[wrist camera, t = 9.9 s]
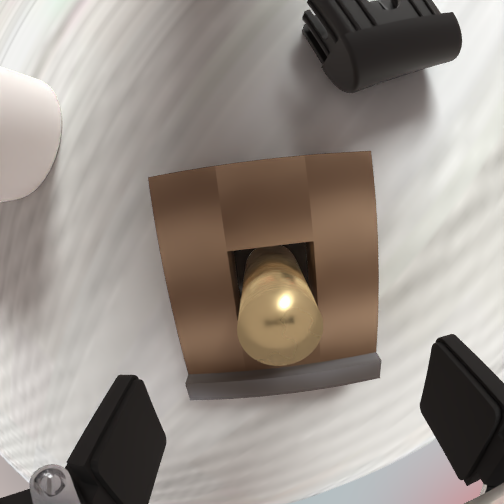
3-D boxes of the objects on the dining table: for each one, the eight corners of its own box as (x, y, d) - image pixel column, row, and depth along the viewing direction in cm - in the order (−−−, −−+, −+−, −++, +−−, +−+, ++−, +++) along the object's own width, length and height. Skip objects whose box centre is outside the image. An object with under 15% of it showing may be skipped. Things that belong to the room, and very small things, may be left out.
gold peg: (241, 246, 23) (231, 295, 14) (295, 240, 23) (321, 284, 14) (248, 296, 24) (243, 369, 15) (299, 290, 24) (324, 360, 14)
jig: (165, 177, 22) (141, 177, 17) (352, 155, 22) (377, 149, 17) (201, 364, 26) (191, 402, 21) (360, 346, 25) (379, 379, 20)
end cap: (338, 104, 21) (367, 79, 14) (294, 30, 20) (305, -14, 13) (432, 71, 20) (476, 49, 13) (391, 5, 18) (422, -31, 12)
